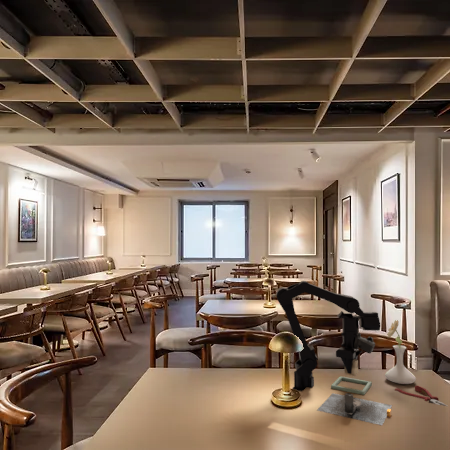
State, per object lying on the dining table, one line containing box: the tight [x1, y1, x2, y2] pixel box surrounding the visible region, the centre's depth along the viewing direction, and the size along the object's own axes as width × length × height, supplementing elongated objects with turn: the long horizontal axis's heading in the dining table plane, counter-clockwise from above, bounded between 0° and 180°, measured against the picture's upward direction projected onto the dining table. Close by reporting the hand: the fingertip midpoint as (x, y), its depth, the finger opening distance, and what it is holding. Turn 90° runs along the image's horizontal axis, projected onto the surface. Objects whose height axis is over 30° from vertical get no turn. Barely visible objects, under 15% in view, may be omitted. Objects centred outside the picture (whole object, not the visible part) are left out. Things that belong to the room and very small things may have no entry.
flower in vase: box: [384, 319, 417, 385], centre depth 158 cm, size 13×11×25 cm
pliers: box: [394, 385, 448, 407], centre depth 139 cm, size 12×20×3 cm, turn 18°
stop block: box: [343, 358, 359, 377], centre depth 149 cm, size 4×4×5 cm
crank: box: [344, 392, 361, 414], centre depth 127 cm, size 10×4×6 cm, turn 148°
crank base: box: [316, 393, 393, 426], centre depth 130 cm, size 21×17×3 cm
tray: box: [330, 375, 373, 396], centre depth 149 cm, size 12×12×2 cm
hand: (351, 371), depth 149 cm, fingers closed on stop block, 4 cm apart
